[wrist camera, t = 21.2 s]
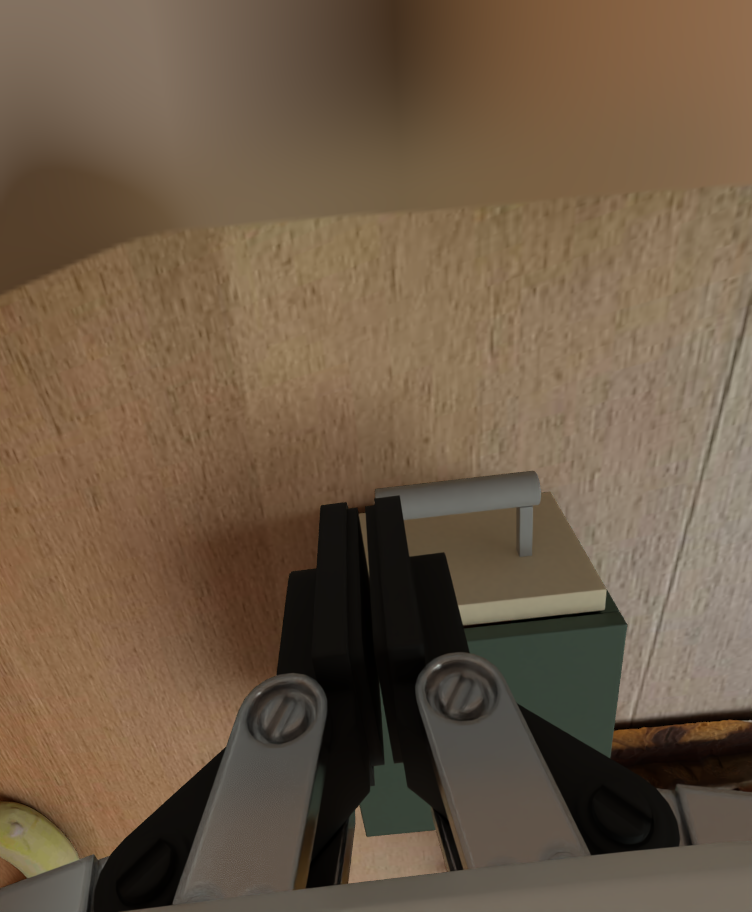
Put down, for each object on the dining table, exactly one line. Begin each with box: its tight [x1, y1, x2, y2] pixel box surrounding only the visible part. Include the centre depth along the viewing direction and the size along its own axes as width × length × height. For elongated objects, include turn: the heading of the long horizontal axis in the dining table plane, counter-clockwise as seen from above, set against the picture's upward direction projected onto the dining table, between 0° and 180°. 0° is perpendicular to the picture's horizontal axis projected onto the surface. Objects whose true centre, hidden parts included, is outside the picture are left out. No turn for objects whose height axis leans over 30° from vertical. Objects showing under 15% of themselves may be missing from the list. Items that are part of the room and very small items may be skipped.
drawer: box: [359, 471, 607, 625], centre depth 29 cm, size 17×11×8 cm
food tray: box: [610, 719, 752, 792], centre depth 42 cm, size 35×26×11 cm
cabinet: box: [359, 519, 627, 837], centre depth 31 cm, size 14×13×10 cm
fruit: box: [0, 802, 80, 878], centre depth 45 cm, size 7×15×3 cm, turn 172°
